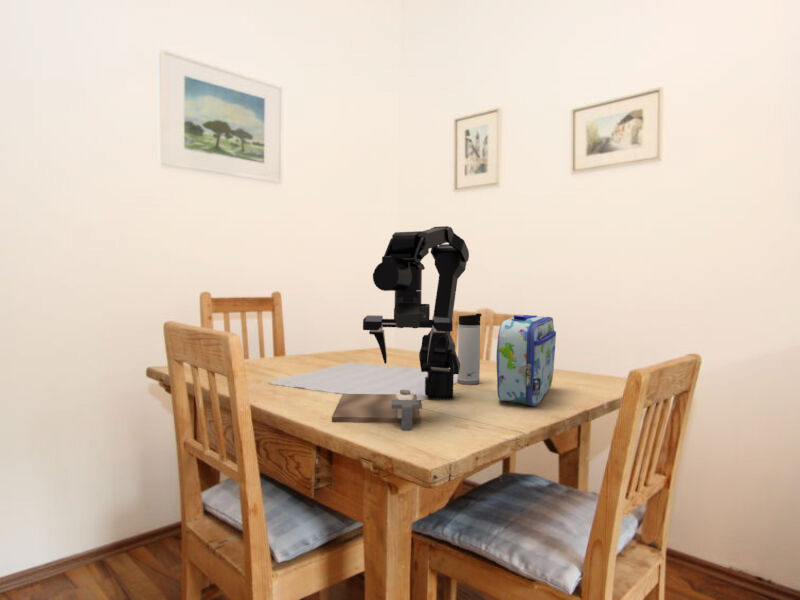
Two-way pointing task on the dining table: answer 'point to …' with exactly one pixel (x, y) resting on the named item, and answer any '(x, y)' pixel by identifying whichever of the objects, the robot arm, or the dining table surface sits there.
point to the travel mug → (469, 349)
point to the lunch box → (525, 358)
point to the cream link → (403, 397)
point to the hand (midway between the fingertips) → (407, 363)
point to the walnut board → (370, 408)
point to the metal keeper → (406, 411)
